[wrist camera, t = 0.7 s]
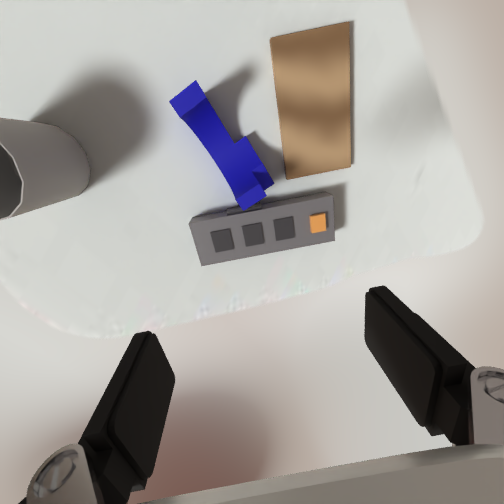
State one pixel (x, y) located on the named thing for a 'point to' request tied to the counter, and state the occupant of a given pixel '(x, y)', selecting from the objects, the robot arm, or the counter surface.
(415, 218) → the counter surface
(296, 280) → the counter surface
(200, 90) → the cable clip
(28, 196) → the cup
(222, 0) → the counter surface
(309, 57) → the wooden board
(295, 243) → the power strip
